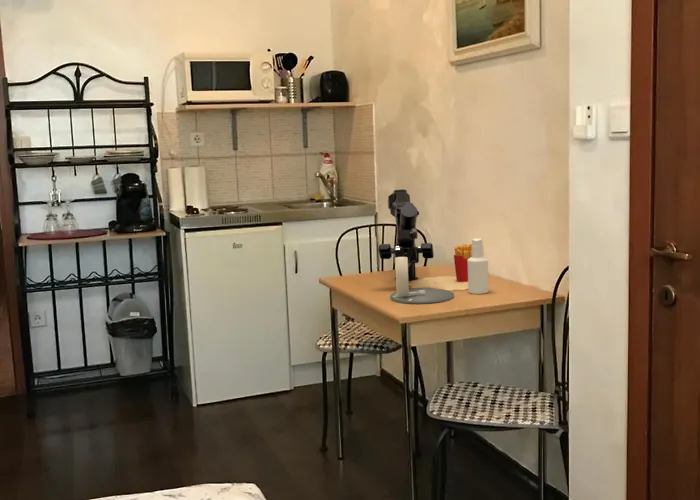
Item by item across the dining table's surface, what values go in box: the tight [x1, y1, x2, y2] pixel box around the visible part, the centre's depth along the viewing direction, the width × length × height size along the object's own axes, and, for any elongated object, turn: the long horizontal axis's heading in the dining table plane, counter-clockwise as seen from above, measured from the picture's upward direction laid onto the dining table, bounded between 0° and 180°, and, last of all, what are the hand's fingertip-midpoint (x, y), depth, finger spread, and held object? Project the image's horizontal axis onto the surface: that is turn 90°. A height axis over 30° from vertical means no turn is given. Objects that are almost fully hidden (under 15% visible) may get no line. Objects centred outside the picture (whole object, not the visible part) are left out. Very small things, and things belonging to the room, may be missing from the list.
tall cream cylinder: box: [394, 257, 418, 297], centre depth 255 cm, size 8×4×13 cm, turn 112°
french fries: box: [453, 243, 472, 283], centre depth 282 cm, size 9×4×13 cm, turn 112°
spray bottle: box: [467, 237, 490, 295], centre depth 261 cm, size 7×7×18 cm
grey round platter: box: [390, 287, 455, 305], centre depth 258 cm, size 21×21×2 cm
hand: (404, 271), depth 266 cm, fingers closed
